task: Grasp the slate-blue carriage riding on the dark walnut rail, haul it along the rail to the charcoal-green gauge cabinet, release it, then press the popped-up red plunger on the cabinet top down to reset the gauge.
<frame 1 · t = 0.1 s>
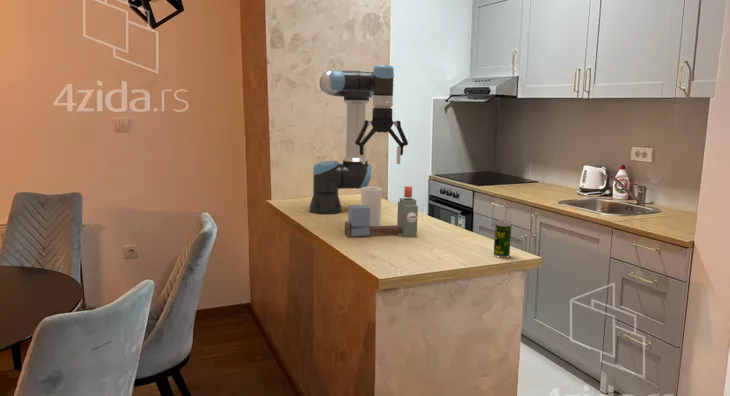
hand: (381, 163, 213), 28 cm above the countertop, fingers open, 13 cm apart
cup: (370, 226, 232), on the countertop
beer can: (501, 256, 192), on the countertop
carriage: (358, 220, 215), point 6 cm above the countertop, slide at 0.0 cm
cabinet: (406, 233, 221), on the countertop
rail: (372, 234, 218), on the countertop
plunger: (408, 191, 218), point 17 cm above the countertop, slide at 0.0 cm
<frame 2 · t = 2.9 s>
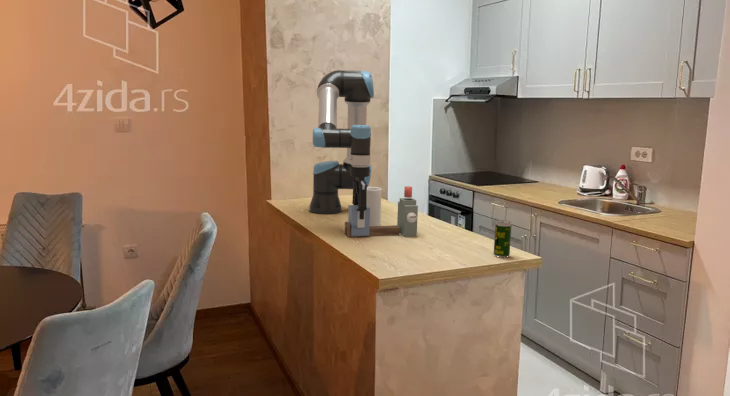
hand: (358, 225, 216), 4 cm above the countertop, fingers closed on carriage, 6 cm apart
carriage: (358, 220, 215), point 6 cm above the countertop, slide at 0.0 cm, touching gripper
everything else where it was.
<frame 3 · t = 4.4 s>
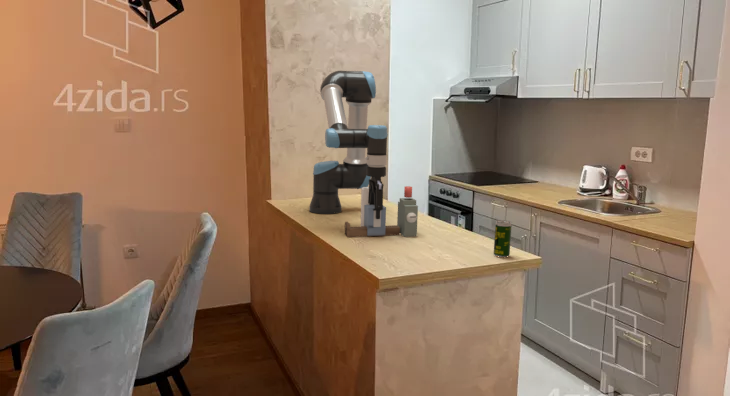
hand: (374, 224, 217), 4 cm above the countertop, fingers closed on carriage, 6 cm apart
carriage: (374, 219, 217), point 6 cm above the countertop, slide at 6.3 cm, touching gripper
everything else where it was.
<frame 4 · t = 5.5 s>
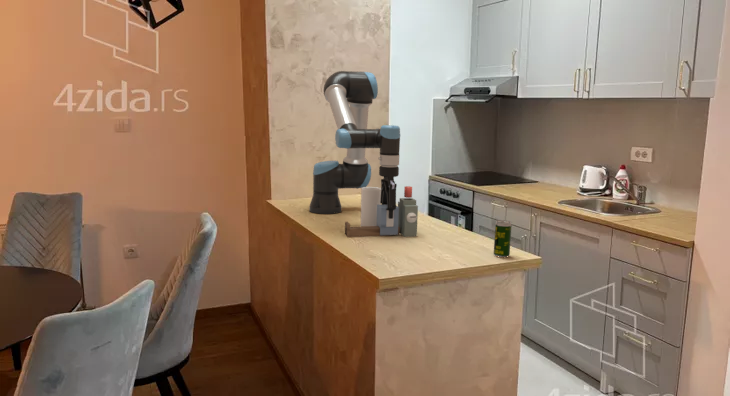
hand: (387, 224, 218), 4 cm above the countertop, fingers closed on carriage, 6 cm apart
carriage: (387, 219, 218), point 6 cm above the countertop, slide at 11.4 cm, touching gripper
everything else where it was.
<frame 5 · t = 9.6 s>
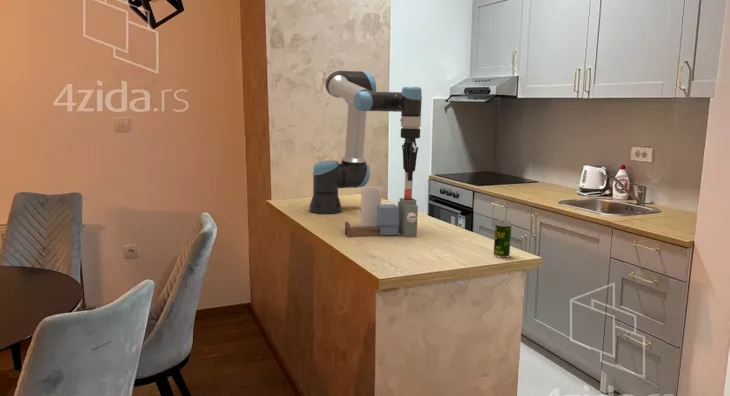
hand: (408, 188, 218), 18 cm above the countertop, fingers closed
carriage: (387, 219, 218), point 6 cm above the countertop, slide at 11.4 cm
plunger: (408, 194, 218), point 16 cm above the countertop, slide at 0.9 cm, touching gripper
everything else where it was.
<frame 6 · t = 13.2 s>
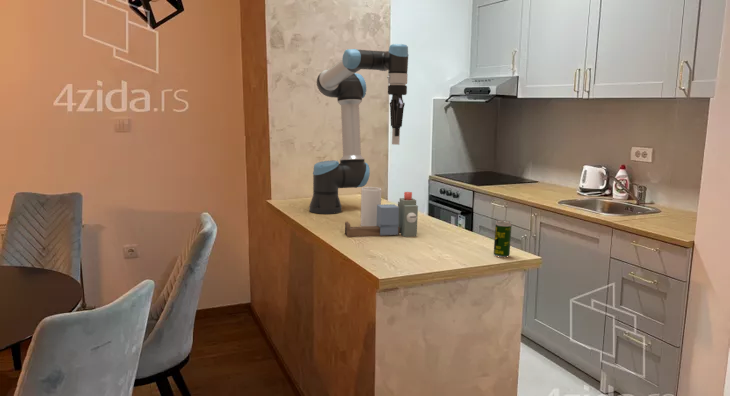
hand: (395, 144, 225), 34 cm above the countertop, fingers closed
plunger: (408, 197, 218), point 15 cm above the countertop, slide at 2.2 cm
everything else where it was.
at the end: carriage slide at 11.4 cm; plunger slide at 2.2 cm; the gripper is holding nothing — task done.
